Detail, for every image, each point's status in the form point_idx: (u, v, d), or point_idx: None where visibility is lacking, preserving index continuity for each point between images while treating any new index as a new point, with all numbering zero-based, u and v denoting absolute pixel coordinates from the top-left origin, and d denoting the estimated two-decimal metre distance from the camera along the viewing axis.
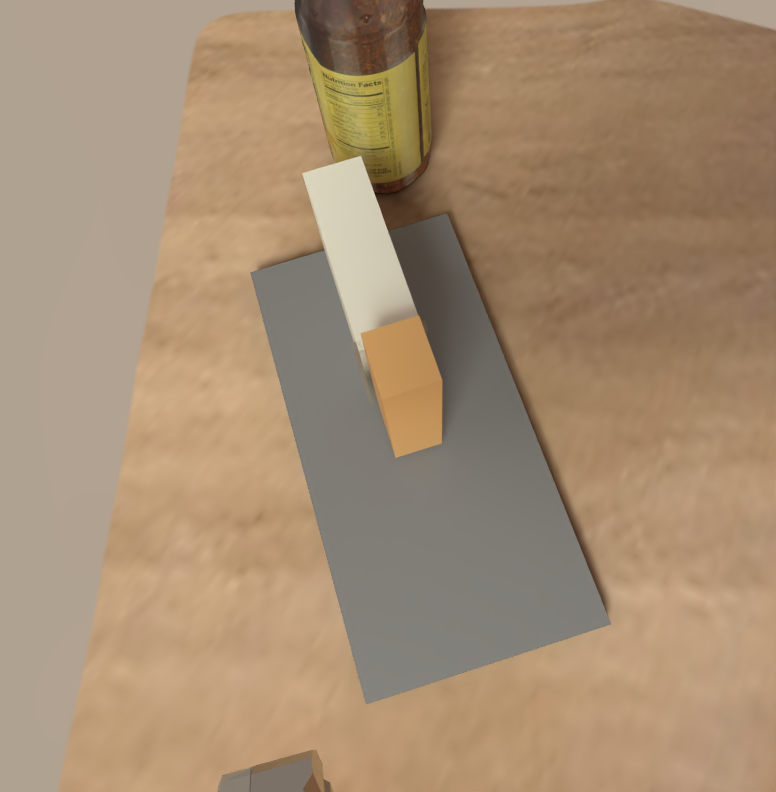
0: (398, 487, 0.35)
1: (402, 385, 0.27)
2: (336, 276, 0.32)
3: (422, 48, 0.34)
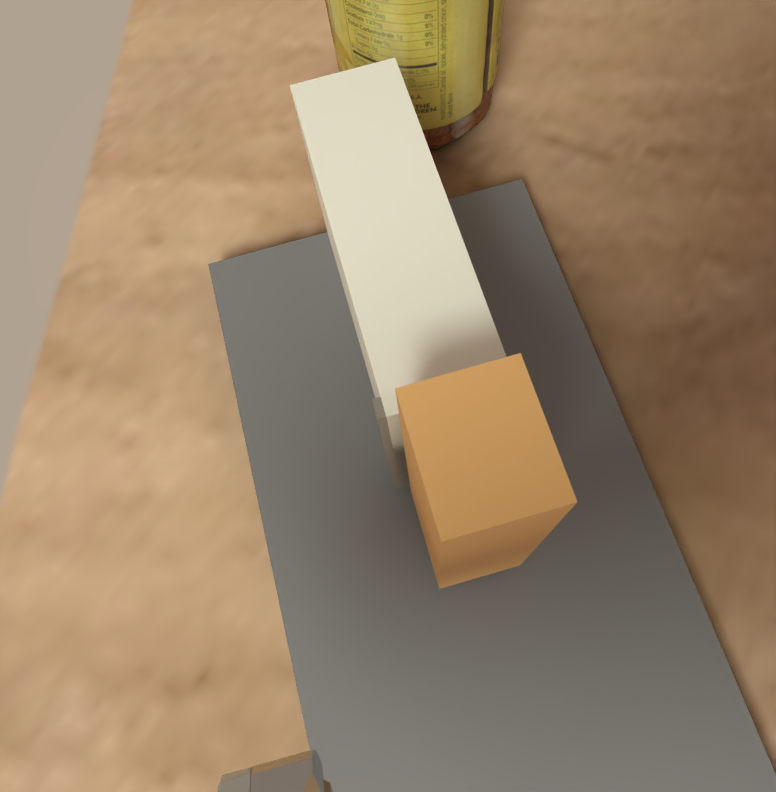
0: (443, 642, 0.20)
1: (488, 510, 0.12)
2: (346, 269, 0.17)
3: None
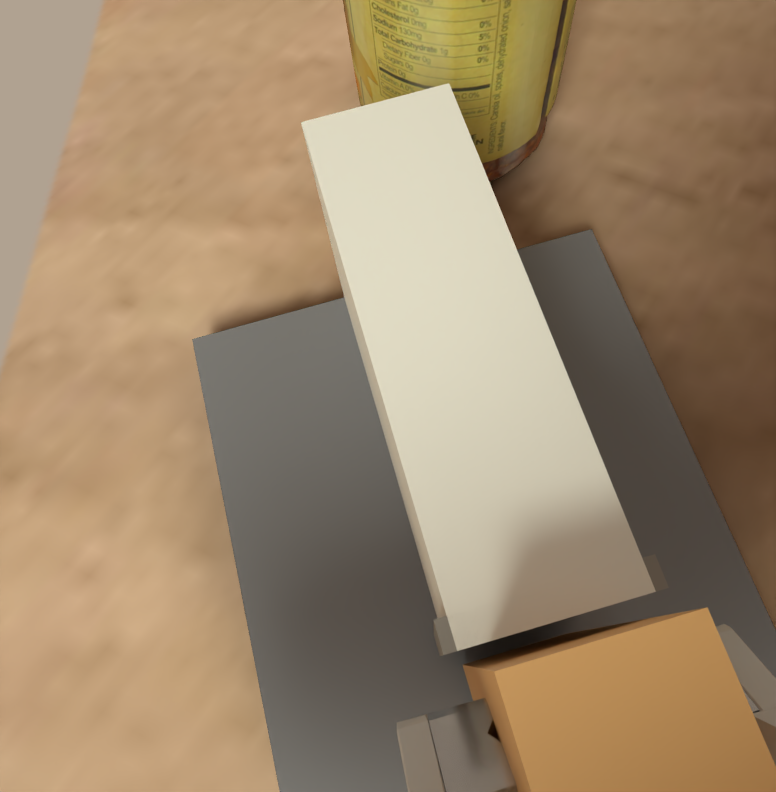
0: None
1: None
2: (387, 403, 0.11)
3: None
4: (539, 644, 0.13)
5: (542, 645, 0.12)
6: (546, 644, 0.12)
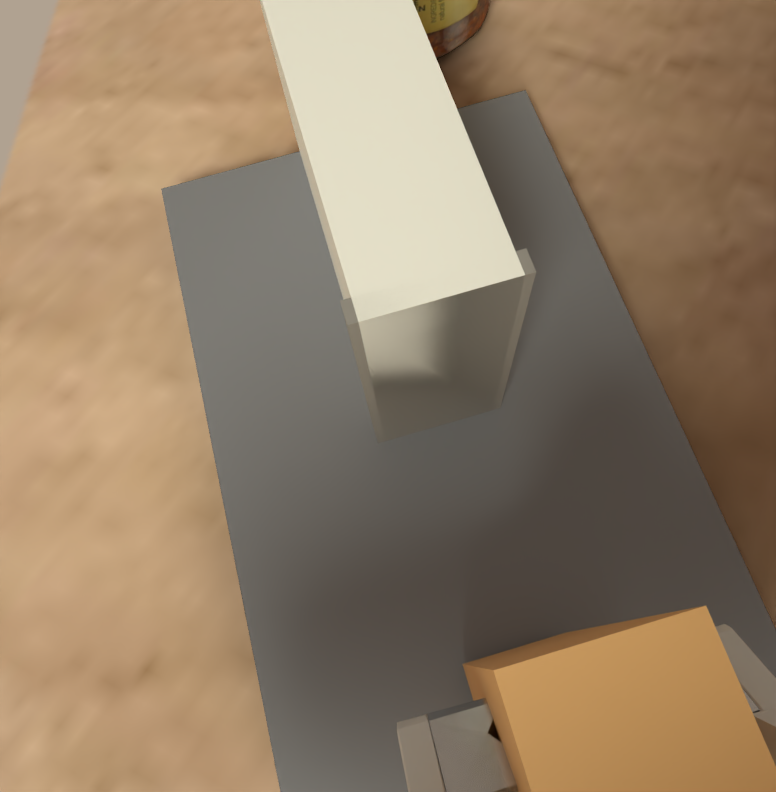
0: (436, 622, 0.17)
1: None
2: (309, 145, 0.13)
3: None
4: (539, 643, 0.13)
5: (542, 644, 0.12)
6: (546, 643, 0.12)
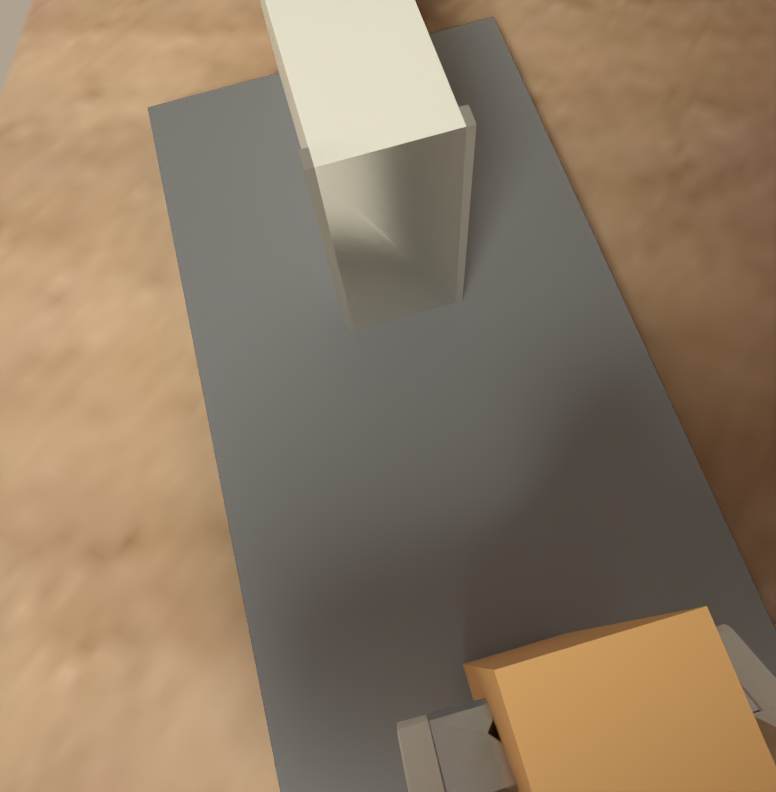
0: (398, 489, 0.18)
1: None
2: (274, 20, 0.15)
3: None
4: (539, 643, 0.13)
5: (542, 644, 0.12)
6: (546, 643, 0.12)
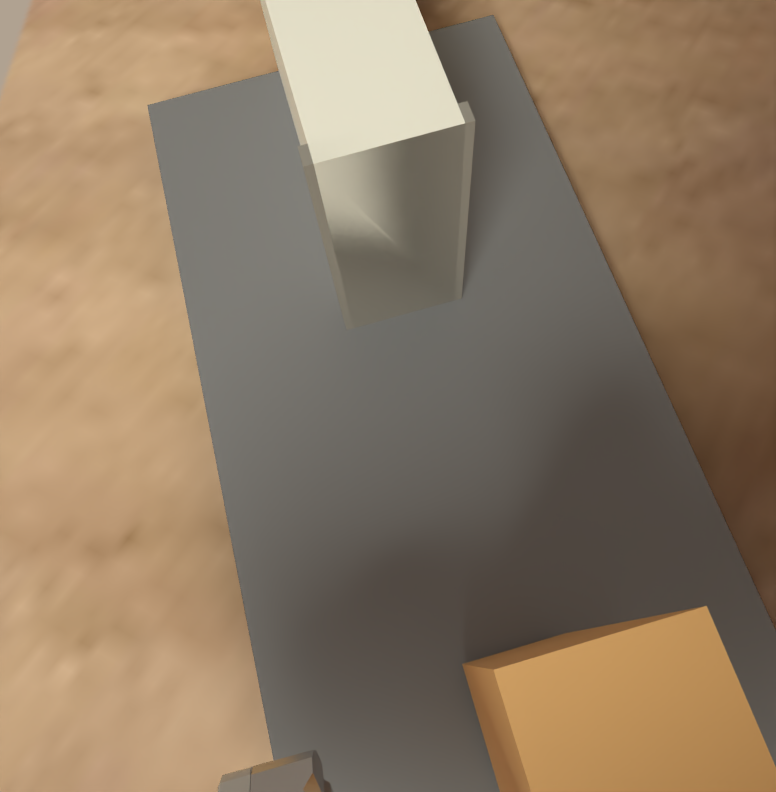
0: (396, 486, 0.18)
1: None
2: (273, 17, 0.15)
3: None
4: (539, 643, 0.13)
5: (542, 644, 0.12)
6: (546, 643, 0.12)
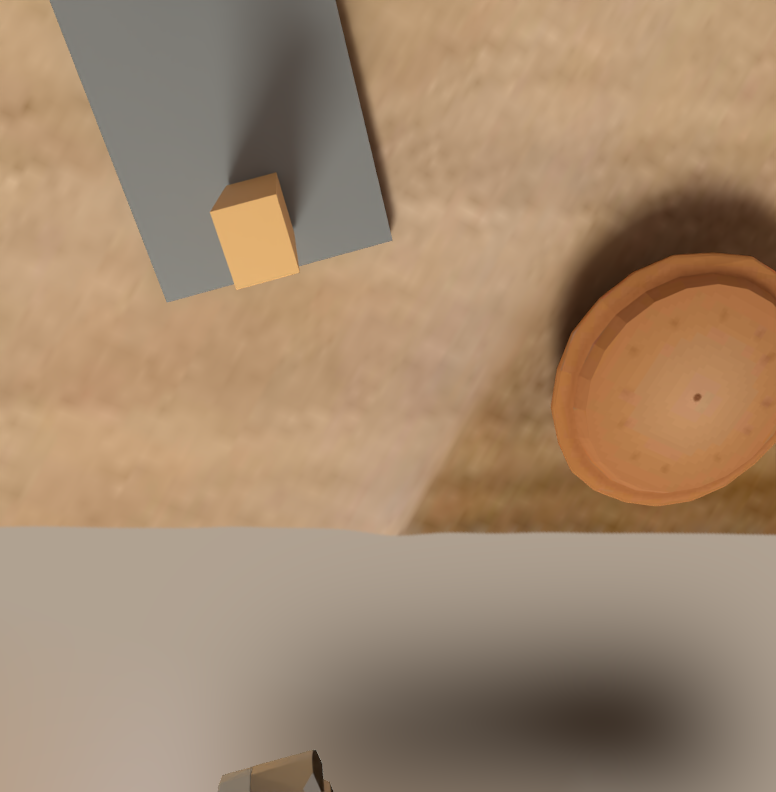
0: (187, 87, 0.32)
1: (258, 276, 0.26)
2: None
3: None
4: (253, 184, 0.31)
5: (249, 188, 0.30)
6: (249, 188, 0.30)
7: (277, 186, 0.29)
